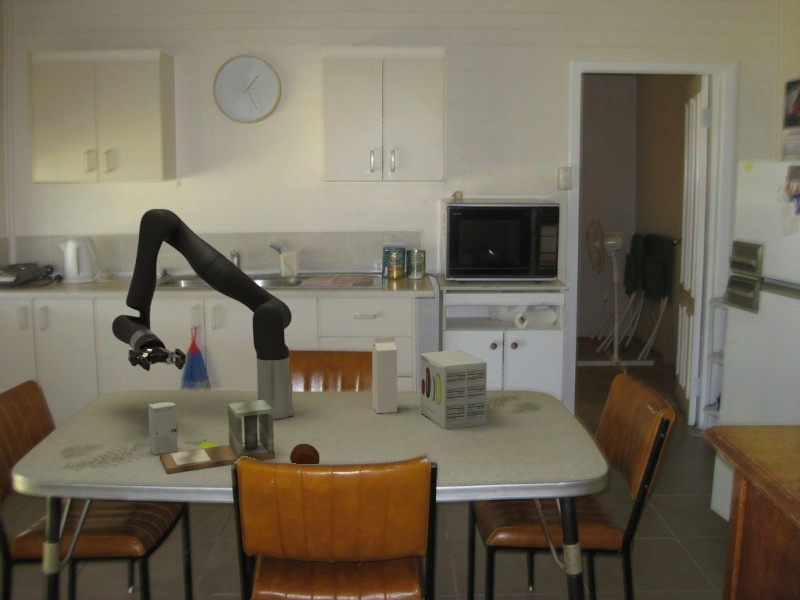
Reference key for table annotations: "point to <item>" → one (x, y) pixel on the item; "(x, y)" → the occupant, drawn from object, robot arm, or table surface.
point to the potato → (304, 454)
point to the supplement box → (453, 389)
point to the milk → (384, 375)
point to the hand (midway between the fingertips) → (165, 366)
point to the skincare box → (162, 427)
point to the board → (231, 440)
